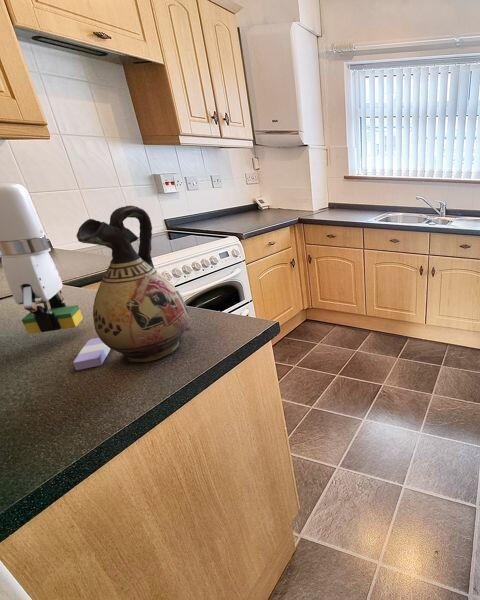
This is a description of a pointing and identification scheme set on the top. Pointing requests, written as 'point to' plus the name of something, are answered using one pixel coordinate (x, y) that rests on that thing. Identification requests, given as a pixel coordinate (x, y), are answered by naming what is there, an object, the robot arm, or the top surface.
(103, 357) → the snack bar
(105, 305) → the ceramic jug
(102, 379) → the top surface
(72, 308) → the sponge
